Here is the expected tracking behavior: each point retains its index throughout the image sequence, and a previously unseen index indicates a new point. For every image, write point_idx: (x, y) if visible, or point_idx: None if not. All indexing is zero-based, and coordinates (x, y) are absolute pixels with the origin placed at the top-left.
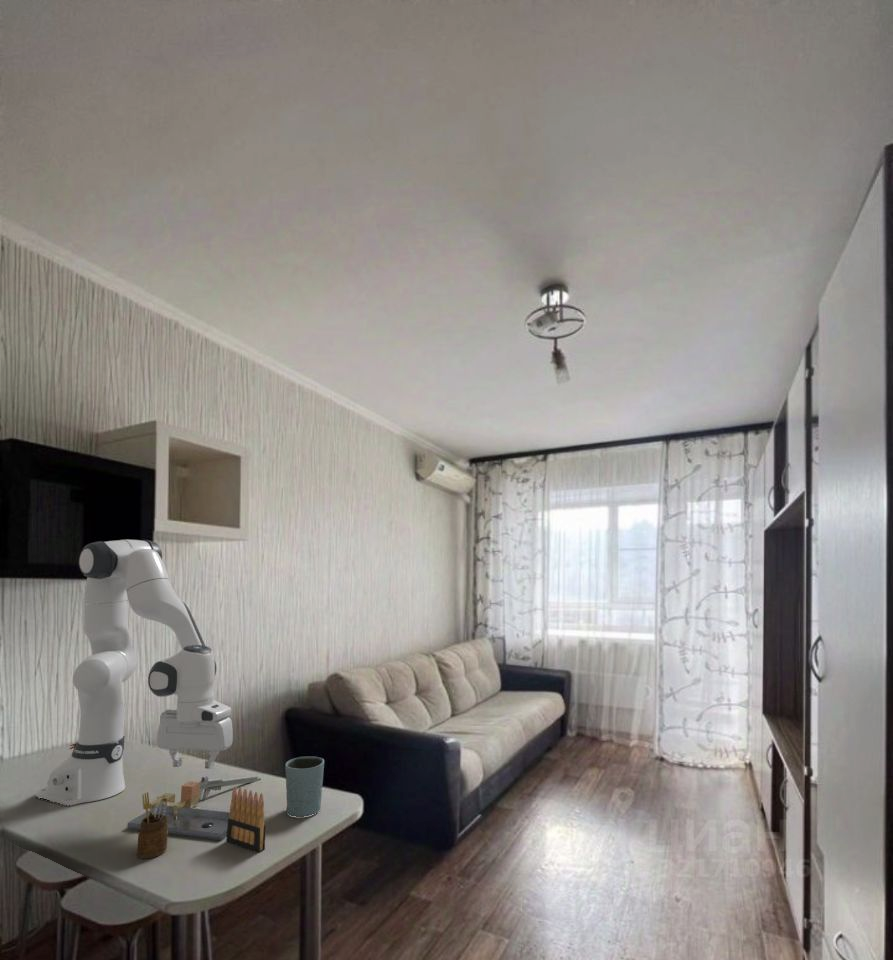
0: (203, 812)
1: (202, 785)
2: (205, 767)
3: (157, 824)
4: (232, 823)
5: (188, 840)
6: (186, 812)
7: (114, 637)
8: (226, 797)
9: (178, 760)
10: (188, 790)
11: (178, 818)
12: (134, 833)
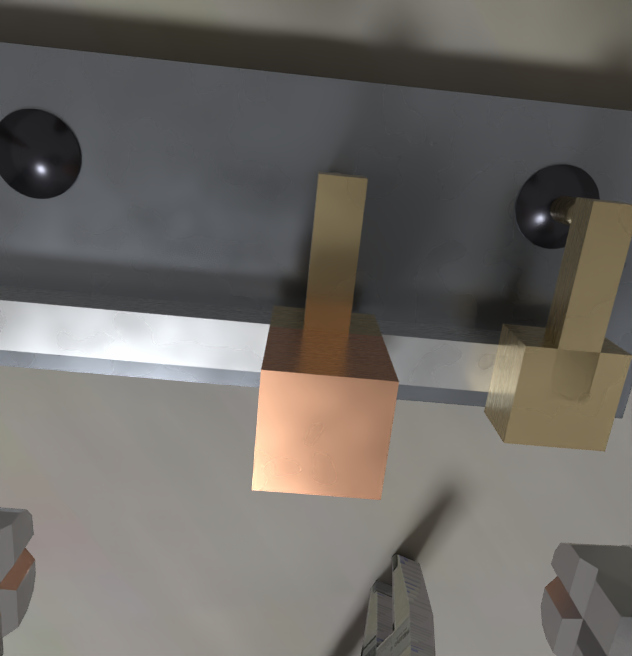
0: (170, 309)
1: (401, 648)
2: (8, 511)
3: None
4: None
5: (107, 3)
6: None
7: None
8: (259, 631)
9: (607, 622)
10: (304, 357)
11: None
12: (588, 64)
